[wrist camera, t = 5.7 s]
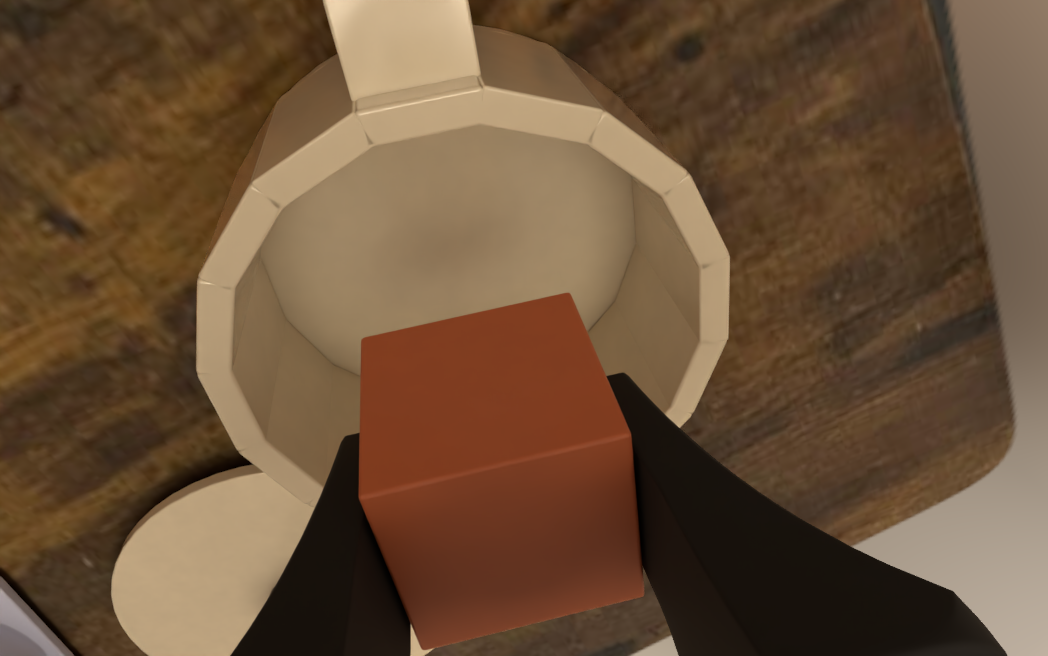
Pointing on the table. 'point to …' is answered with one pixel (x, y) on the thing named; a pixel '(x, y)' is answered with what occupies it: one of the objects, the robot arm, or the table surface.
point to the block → (497, 471)
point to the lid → (208, 564)
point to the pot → (443, 227)
